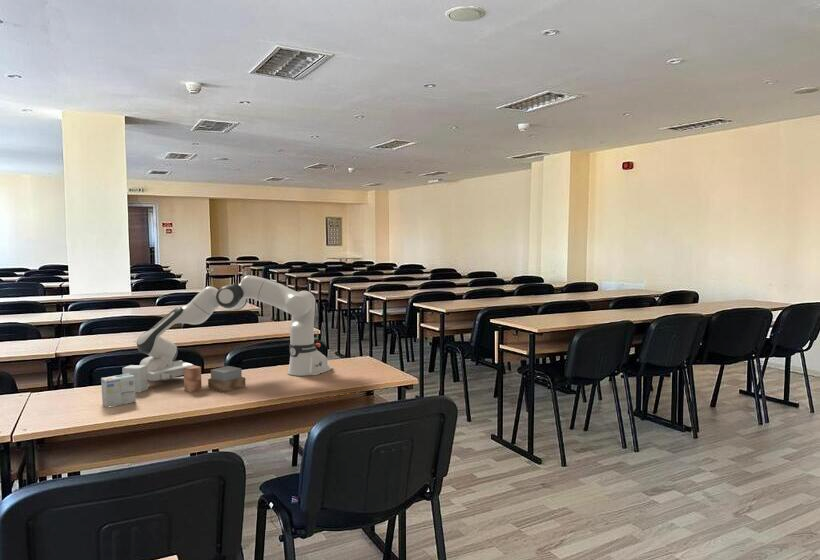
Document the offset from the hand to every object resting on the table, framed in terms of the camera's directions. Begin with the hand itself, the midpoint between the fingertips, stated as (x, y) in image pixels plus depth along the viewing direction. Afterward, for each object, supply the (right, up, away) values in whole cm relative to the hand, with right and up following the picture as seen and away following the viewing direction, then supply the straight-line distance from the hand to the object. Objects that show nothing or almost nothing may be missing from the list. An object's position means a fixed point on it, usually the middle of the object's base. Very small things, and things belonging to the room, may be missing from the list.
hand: (180, 374), depth 241 cm
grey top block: (+21, -1, -2) cm, 21 cm away
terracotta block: (+8, -6, -6) cm, 11 cm away
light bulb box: (-14, -7, -24) cm, 29 cm away
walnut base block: (+21, -6, -2) cm, 22 cm away
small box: (-16, -6, -6) cm, 19 cm away
